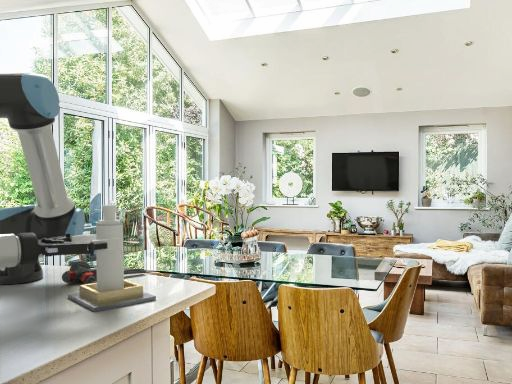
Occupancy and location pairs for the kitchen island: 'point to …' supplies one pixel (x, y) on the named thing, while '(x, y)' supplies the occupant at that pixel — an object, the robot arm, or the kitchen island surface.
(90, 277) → the power drill
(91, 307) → the flange plate
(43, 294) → the kitchen island surface
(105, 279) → the white bottle
